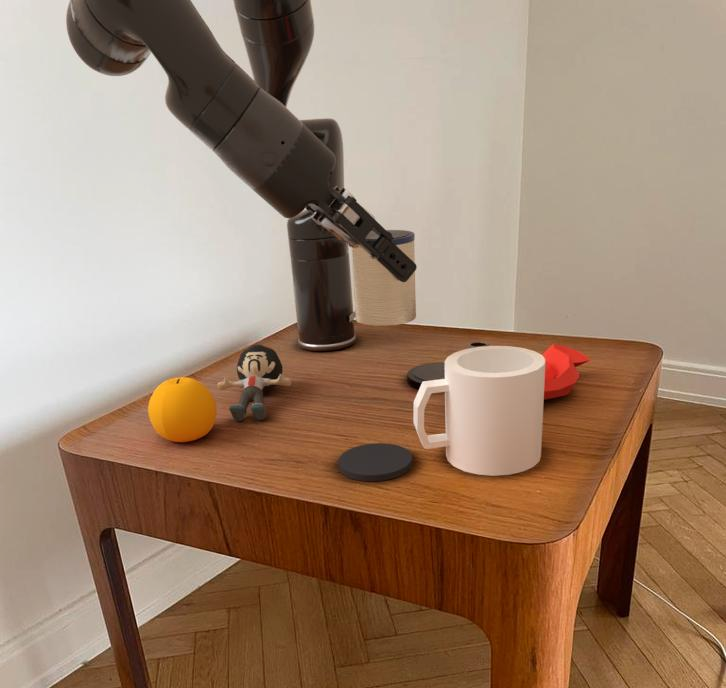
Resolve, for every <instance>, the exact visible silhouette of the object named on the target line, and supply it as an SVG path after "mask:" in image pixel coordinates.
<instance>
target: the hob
mask: <svg viewBox="0 0 726 688" xmlns="http://www.w3.org/2000/svg"><path fill="white" fill-rule="evenodd" d="M444 362H445V361H441V362H428V363H423V364H419V365H416V366H414V367H411V368H410V369H409V370H408V371H407V372H406V382H407V385H408V386H409V387H411V388H412V389H415V390H416V391H419V389H420V386H421V384H422V382H423V381H431V380H439V379H445V364H444Z"/></svg>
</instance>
